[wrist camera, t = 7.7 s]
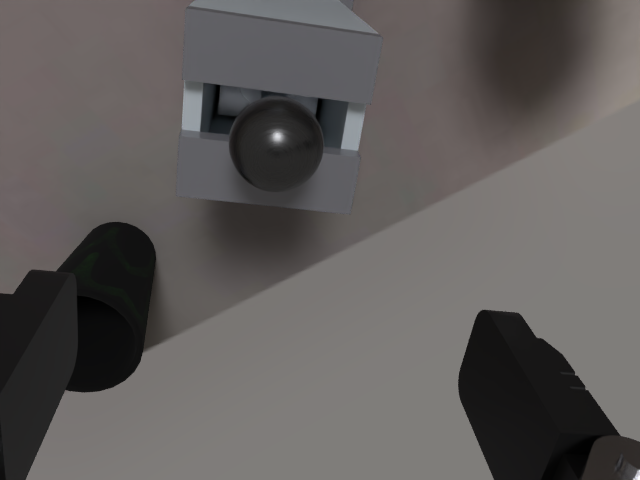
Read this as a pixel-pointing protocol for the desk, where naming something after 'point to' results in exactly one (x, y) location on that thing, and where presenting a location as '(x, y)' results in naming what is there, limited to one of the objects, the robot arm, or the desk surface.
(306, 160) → the plunger
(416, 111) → the desk surface
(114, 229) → the cup
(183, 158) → the slotted square pillar
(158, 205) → the desk surface
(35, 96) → the desk surface
